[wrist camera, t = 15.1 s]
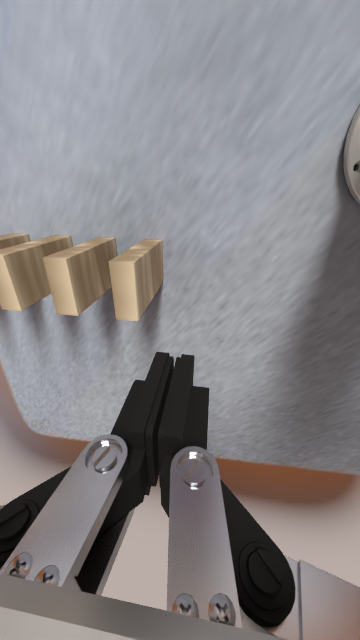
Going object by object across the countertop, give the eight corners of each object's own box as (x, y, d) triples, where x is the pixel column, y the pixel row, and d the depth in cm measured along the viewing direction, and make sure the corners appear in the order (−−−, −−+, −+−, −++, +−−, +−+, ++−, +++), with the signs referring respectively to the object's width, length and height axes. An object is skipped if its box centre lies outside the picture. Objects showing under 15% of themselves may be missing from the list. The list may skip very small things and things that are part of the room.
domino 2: (115, 237, 27) (66, 258, 18) (120, 279, 30) (78, 315, 21) (98, 237, 27) (42, 257, 19) (104, 278, 30) (57, 314, 21)
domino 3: (70, 235, 28) (2, 255, 19) (78, 276, 30) (21, 311, 22) (55, 235, 28) (-19, 254, 19) (64, 275, 30) (2, 309, 22)
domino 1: (162, 239, 26) (133, 262, 18) (163, 282, 29) (138, 321, 20) (145, 239, 27) (108, 261, 18) (147, 281, 29) (116, 319, 20)
